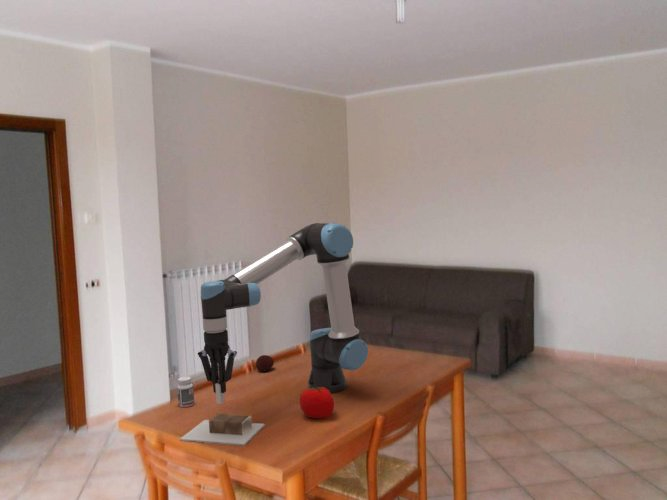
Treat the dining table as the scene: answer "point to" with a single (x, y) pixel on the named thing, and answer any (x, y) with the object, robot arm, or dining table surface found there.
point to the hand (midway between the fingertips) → (220, 402)
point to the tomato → (317, 402)
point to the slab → (230, 424)
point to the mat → (220, 435)
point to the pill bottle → (185, 392)
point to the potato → (264, 363)
